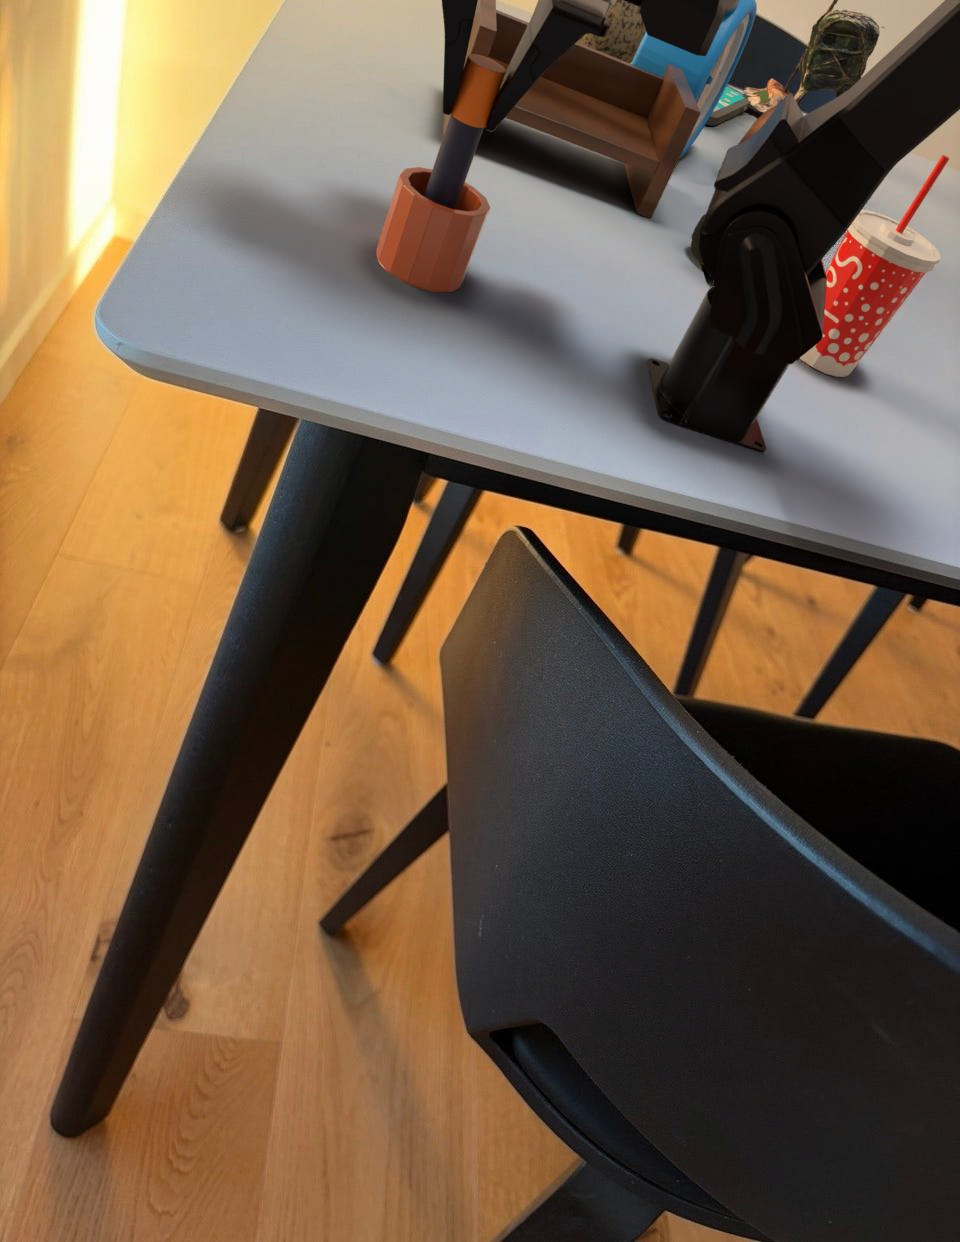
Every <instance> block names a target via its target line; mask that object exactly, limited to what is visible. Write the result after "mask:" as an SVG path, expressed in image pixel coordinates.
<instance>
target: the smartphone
mask: <svg viewBox="0 0 960 1242" xmlns="http://www.w3.org/2000/svg"><path fill="white" fill-rule="evenodd" d="M743 96H744V93H743V92H741V91H739V90H737V89H735V88H734V87H732V86H730V85H728V84H727V86H726V88H725V90H724V92H723V94H722V96H721V98H720V100H719V102H718V103H717V105H716V107H715V109H714V111H713V112H712V114H711V116H710V118H709V119H708V121H707V123H706V124H705V125H708V126H712V127H713V126H717V125H719V124H721V123H723V122H725V121H727V120H730V119H732V118H733V117H735V116H738V115H740V114H742V113H744V112H746V111H748V109H750V107H751V105H750V103H751V101H749V100H747V99H746V98H745V96H744V97H743ZM744 99H745V100H744ZM748 102H749V103H748Z"/></svg>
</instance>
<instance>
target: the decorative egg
mask: <svg viewBox="0 0 960 1242" xmlns="http://www.w3.org/2000/svg"><path fill="white" fill-rule="evenodd" d="M607 18H608V21H609V24H610V29H609V31H608V33H607V36H606V37H598V36H595V35H593V34H590V33H589V34H585V35H584V36H583V37H582V38H581V39H580V40H578V41H577V42H578V43H580V44H583V45H585V46H588V47H590V48H593V49H595V50H598V51H600V52H602V53H605V54H607V55H610V56H612V57H615V58H617V59H620V60H622V61H625V62H627V63H630V64H631V63H632V61H633V59H634V56H635V54H636V52H637V50H638V47H639V45H640V43H641V41H642V39H643V37H644V35H645V33H646V29H645V26H644V23H643V20H642V17H641V14H640V11H639V8H638V6H636V5H634V4H631V3H629V2H626V1H624V0H617V2H616V5H615V6H612V5H611V7H610V10H609V12H608V15H607Z"/></svg>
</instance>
